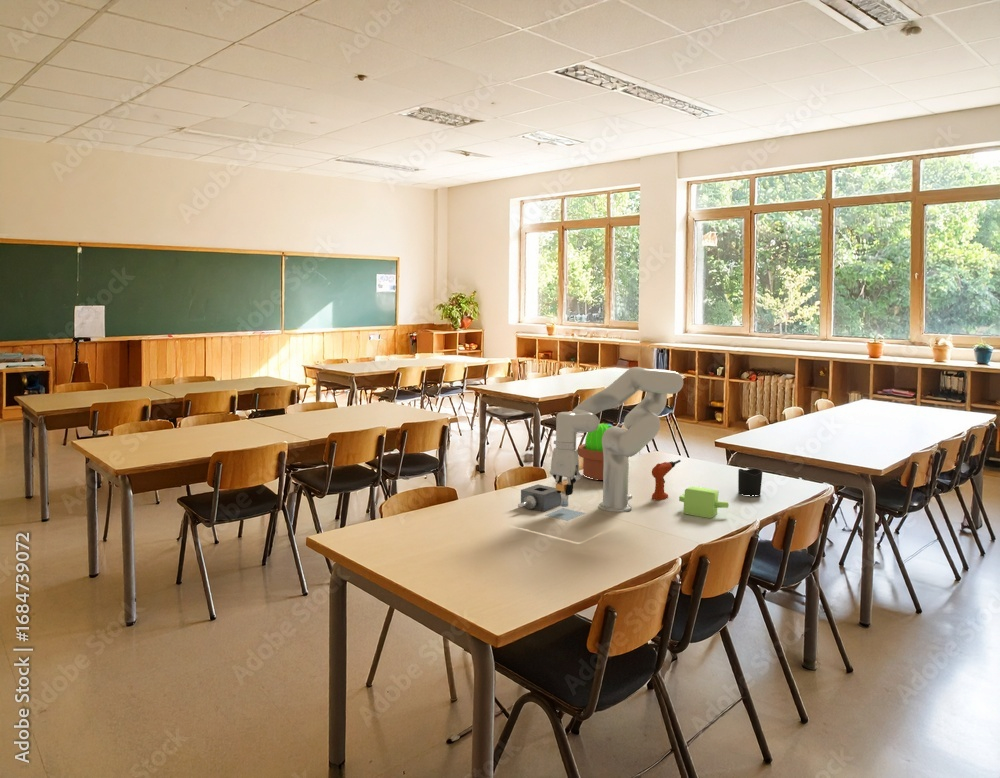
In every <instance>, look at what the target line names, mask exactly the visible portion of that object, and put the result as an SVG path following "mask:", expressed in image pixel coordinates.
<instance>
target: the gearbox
mask: <svg viewBox="0 0 1000 778" xmlns="http://www.w3.org/2000/svg"><path fill="white" fill-rule="evenodd" d="M719 492H720V491H719V490H716V489H713V488H706V487H700V486H690V487H687V488H686V489H684V494H682V495H680V496H679V498H678V499H679V500H678V501H679V502H681V503H682V502H683V510H682V511H683V512H682V513H683V514H687V515H691V516H696V517H701V518H707V519H708V518H709V519H712V518H714V517H715V516H716V515H717V514H718V509H720V508H721V509H724V508H725V509H728V508H729V502H728V501H719Z"/></svg>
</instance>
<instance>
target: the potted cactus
mask: <svg viewBox="0 0 1000 778" xmlns="http://www.w3.org/2000/svg"><path fill="white" fill-rule="evenodd" d="M610 427H615V426H614V425H612V424H611V423H606V422H602V423H599V426H598V428H597V429H596V430H595V431H593V432H586V435H585V441H584V443H582V444H580V445H578V447H577V448H578V449H577V451H578V457H580V458H583V462H582V464H583V469H582V475H583V474H584V475H585V476H587V477H590V478H593V479H598V480H603V469H604V455H603V447H602V437H603V434H604V432H605V431H606V430H607V429H608V428H610Z"/></svg>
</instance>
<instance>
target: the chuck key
mask: <svg viewBox="0 0 1000 778" xmlns="http://www.w3.org/2000/svg"><path fill="white" fill-rule="evenodd" d="M567 485H568V480H562V482H559V483H557V482H555V488H556V490H558V491H561V493H560V506H559V507H562V508H567V507H569V495H566V491H567Z"/></svg>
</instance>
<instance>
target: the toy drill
mask: <svg viewBox="0 0 1000 778" xmlns="http://www.w3.org/2000/svg"><path fill="white" fill-rule="evenodd" d="M680 462H682V460H681V459H678V460H676V461H669V462H668V461H667V462H666V461H665V462H662V463H657V464H656V465H655V466H654V467H652V470H651V475H652V477H653V478H654V480H655V488H654V492H653V493H652V495H651V500H654V499H655V500H654V501H663V500H667V499H668V498H669V495H668V493H666V492H665V483H666V480H665V478H664V477H665V476H666V475H667V474H668V473H669V472H670V471H671V470H672V469H673V468H675V467H676V465H677V464H679V463H680ZM666 498H667V499H666ZM662 499H663V500H662Z"/></svg>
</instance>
